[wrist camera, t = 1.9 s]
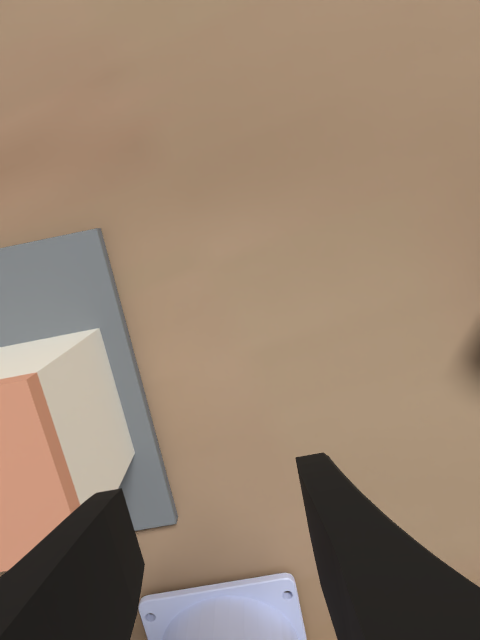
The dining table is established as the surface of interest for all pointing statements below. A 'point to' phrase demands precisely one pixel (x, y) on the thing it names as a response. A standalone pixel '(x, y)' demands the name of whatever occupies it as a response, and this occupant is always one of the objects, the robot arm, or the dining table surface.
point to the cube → (56, 435)
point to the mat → (80, 315)
